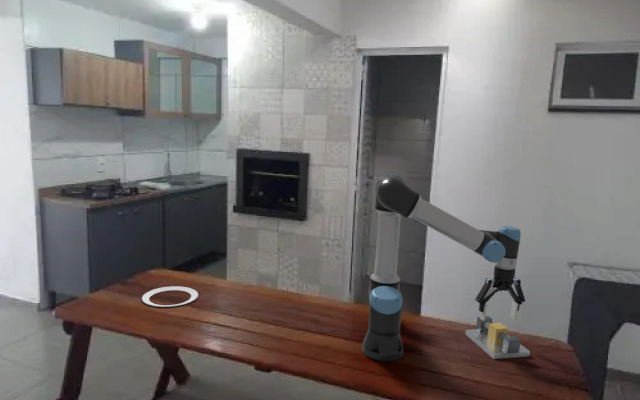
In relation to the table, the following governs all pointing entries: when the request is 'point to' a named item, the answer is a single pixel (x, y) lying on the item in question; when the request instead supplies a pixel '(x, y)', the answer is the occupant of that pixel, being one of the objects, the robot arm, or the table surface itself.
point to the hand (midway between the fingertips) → (497, 319)
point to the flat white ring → (150, 293)
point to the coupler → (497, 332)
